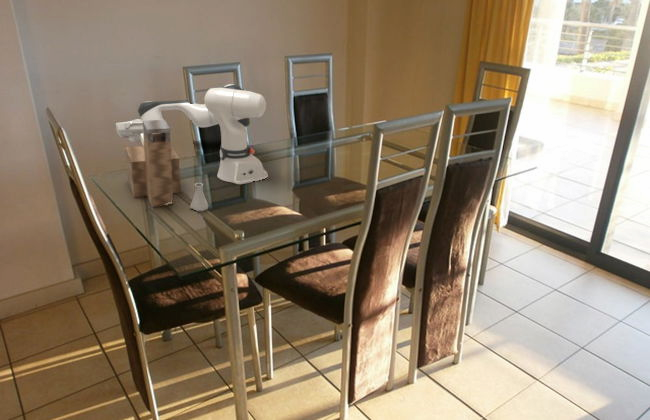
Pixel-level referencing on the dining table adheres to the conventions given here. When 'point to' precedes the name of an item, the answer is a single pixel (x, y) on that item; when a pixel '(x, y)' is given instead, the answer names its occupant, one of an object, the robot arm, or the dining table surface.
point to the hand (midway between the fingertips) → (142, 123)
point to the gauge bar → (142, 138)
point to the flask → (199, 199)
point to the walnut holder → (154, 165)
